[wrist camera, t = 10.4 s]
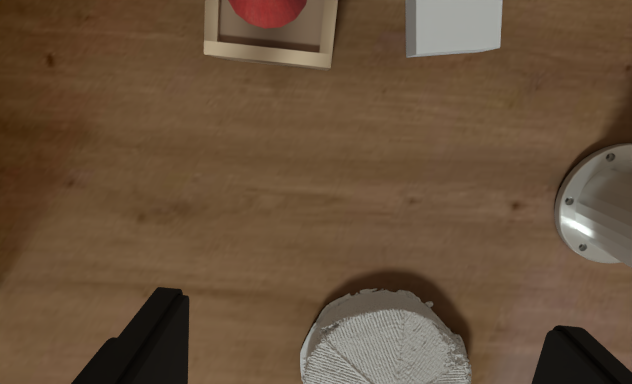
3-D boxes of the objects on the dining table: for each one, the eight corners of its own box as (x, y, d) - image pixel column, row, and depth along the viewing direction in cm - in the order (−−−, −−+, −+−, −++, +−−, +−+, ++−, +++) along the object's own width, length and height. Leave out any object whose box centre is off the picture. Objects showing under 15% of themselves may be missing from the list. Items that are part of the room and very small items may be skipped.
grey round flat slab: (264, 373, 47) (255, 421, 41) (368, 253, 42) (377, 285, 36) (391, 450, 50) (401, 506, 44) (500, 347, 46) (531, 392, 39)
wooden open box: (340, -47, 34) (346, -77, 28) (328, 70, 37) (330, 67, 31) (228, -61, 34) (207, -94, 28) (223, 59, 37) (203, 53, 31)
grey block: (484, -32, 35) (504, -46, 31) (480, 51, 37) (500, 47, 33) (405, -25, 35) (416, -39, 31) (406, 57, 37) (416, 54, 33)
